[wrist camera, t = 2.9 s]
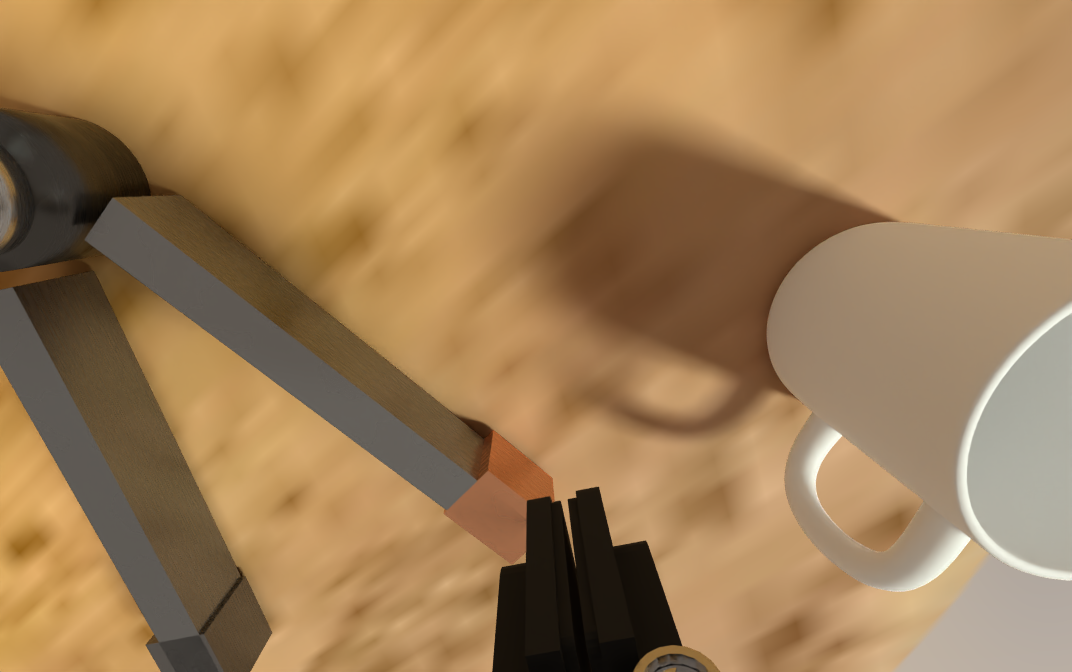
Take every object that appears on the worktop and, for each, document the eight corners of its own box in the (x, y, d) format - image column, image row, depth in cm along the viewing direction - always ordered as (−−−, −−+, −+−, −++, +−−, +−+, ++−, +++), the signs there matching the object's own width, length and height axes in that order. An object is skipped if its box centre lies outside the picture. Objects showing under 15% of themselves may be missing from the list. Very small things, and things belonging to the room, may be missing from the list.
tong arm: (-3, 191, 18) (-178, 194, 14) (64, 80, 17) (-102, 44, 13) (478, 546, 24) (467, 634, 19) (552, 478, 23) (559, 553, 18)
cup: (998, 278, 21) (1416, 363, 11) (821, 498, 24) (1026, 717, 14) (840, 181, 19) (1156, 180, 10) (676, 427, 22) (790, 614, 13)
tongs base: (-29, 137, 18) (-175, 125, 14) (114, 103, 18) (3, 82, 14) (227, 634, 25) (174, 715, 22) (332, 615, 25) (297, 693, 21)
